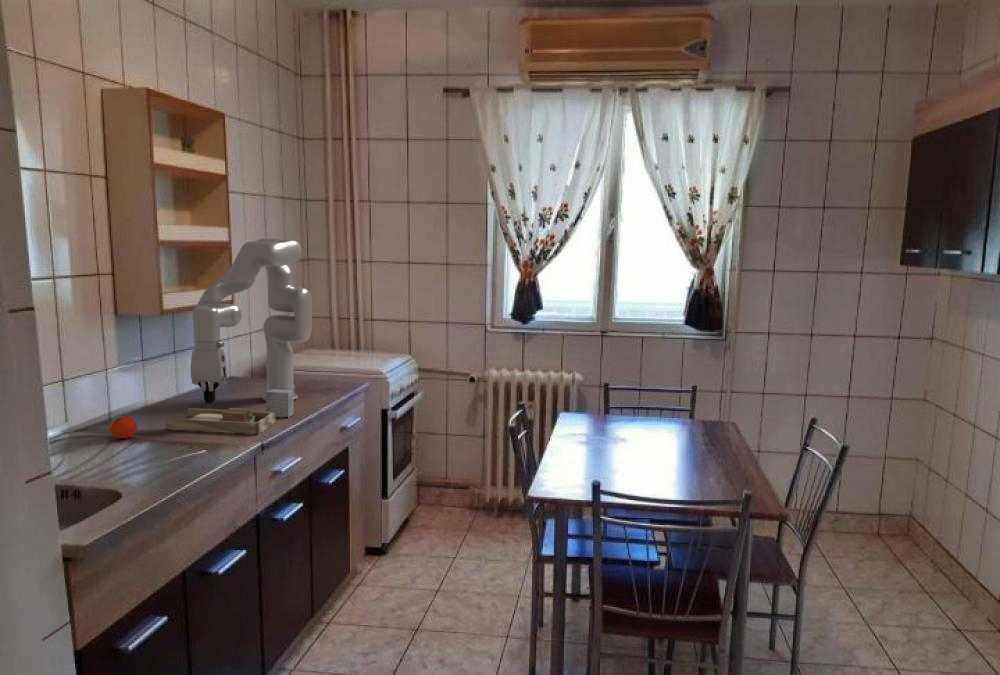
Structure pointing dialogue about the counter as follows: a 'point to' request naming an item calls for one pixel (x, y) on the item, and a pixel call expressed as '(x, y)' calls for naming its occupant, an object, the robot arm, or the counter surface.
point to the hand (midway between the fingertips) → (210, 402)
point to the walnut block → (237, 414)
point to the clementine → (123, 426)
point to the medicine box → (280, 402)
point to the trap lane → (221, 422)
